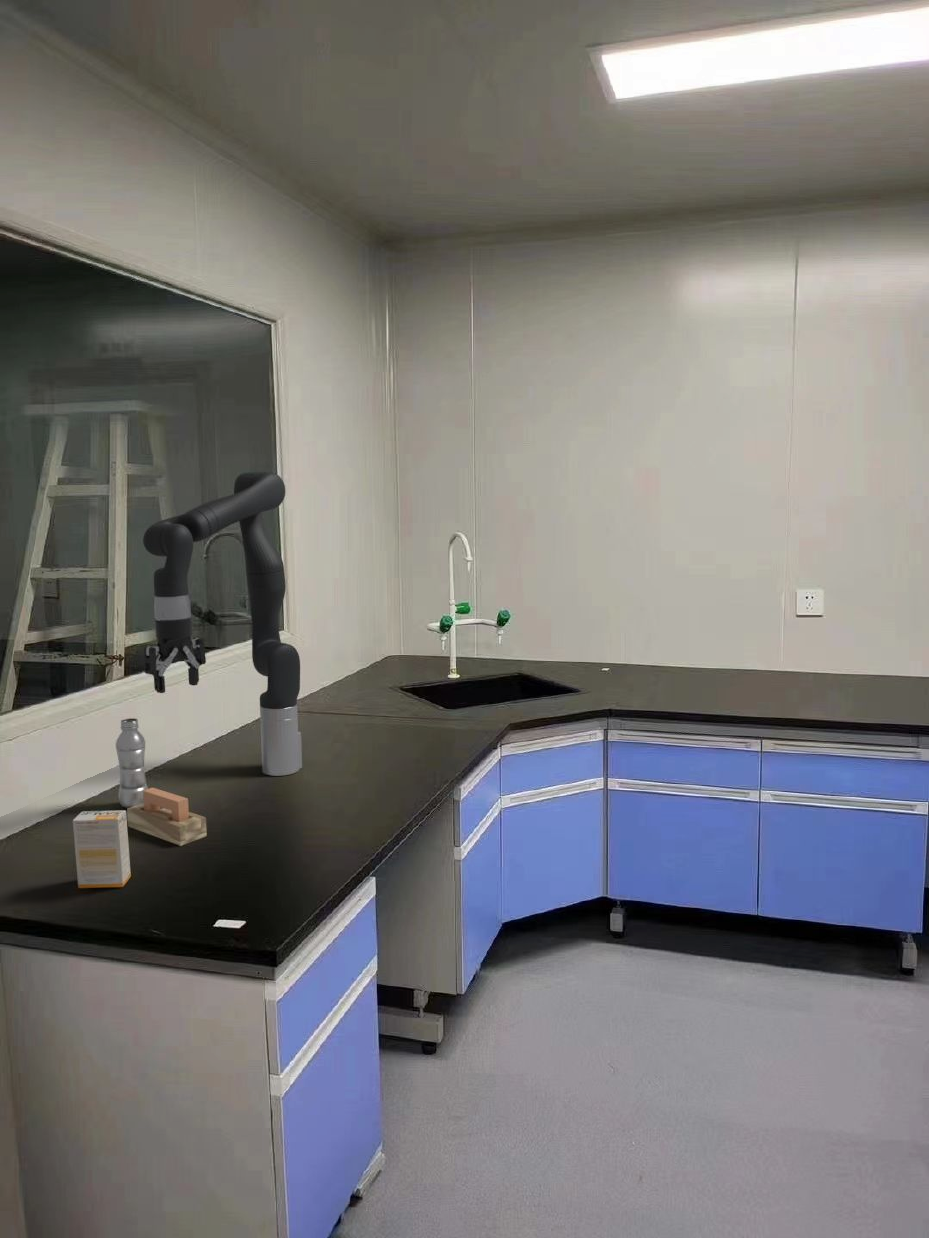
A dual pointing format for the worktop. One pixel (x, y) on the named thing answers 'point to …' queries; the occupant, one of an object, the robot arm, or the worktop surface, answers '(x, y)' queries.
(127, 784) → the metal bottle
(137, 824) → the rail
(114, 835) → the supplement box
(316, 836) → the worktop surface
